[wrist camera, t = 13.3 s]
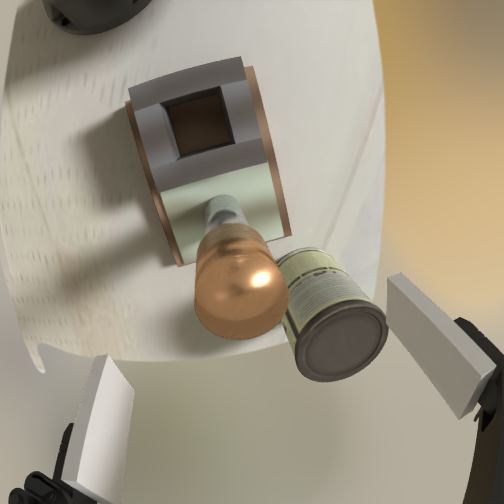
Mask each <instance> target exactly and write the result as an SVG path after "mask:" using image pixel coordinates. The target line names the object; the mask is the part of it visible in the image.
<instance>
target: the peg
mask: <svg viewBox="0 0 504 504" xmlns="http://www.w3.org/2000/svg"><path fill="white" fill-rule="evenodd" d="M288 304H289V290H288V286H287V284H286V282H285V279H284V278H283V276H282V274H281V272H280V270H279V268H278V266H277V264H276V262H275V260H274V258H273V256H272V254H271V252H270V250H269V248H268V246H267V244H266V242H265V240H264V239H263V237H262V236H261V235H260V234H259V233H258V232H257V231H256V230H255V229H253V228H252V227H250V226H249V224H248V222H247V220H246V217H245V215H244V213H243V210H242V208H241V206H240V204H239V202H238V201H237V200H236V199H235V198H234V197H232V196H230V195H225V194H222V195H217V196H215V197H213V198H212V199H211V200H210V201H209V202H208V203H207V205H206V208H205V236H204V238H203V239H202V240H201V242H200V244H199V246H198V250H197V256H196V276H195V311H196V314H197V316H198V318H199V320H200V322H201V323H202V324H203V325H204V327H205V328H207V329H208V330H209V331H210V332H212V333H214V334H215V335H218V336H220V337H223V338H226V339H232V340H245V339H251V338H255V337H258V336H260V335H262V334H265V333H266V332H268V331H270V330H271V329H272V328H274V327H275V326H276V325H277V324H278V323H279V322H280V321H281V319H282V318H283V316H284V315H285V313H286V311H287V308H288Z"/></svg>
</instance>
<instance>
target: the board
mask: <svg viewBox="0 0 504 504" xmlns="http://www.w3.org/2000/svg"><path fill="white" fill-rule="evenodd" d="M128 90H129V94H130V98H131V100H129V101H127V102H125V105H126V108H127V112H128V116H129V120H130V123H131V127H132V131H133V134H134V138H135V141H136V145H137V148H138V152H139V155H140V158H141V162H142V165H143V168H144V171H145V175H146V178H147V181H148V184H149V187H150V190H151V193H152V196H153V199H154V202H155V205H156V208H157V211H158V214H159V217H160V220H161V223H162V226H163V228H164V231H165V234H166V237H167V240H168V242H169V245H170V248H171V251H172V253H173V256H174V259H175V261H176V264H177V266H178V267H181V266H185V265H188V264H192V263H195V262H196V256H197V250H198V246H199V244H200V242H201V240H202V239H203V238H204V236H205V208H206V205H207V203H208V202H209V201H210V200H211V199H212V198H213V197H215V196H217V195H222V194H225V195H230V196H232V197H234V198H235V199H236V200H237V201H238V202H239V204H240V206H241V208H242V210H243V213H244V215H245V217H246V220H247V222H248V224H249V226H250V227H252V228H253V229H255V230H256V231H257V232H258V233H259V234H260V235H261V236H262V237H263V239H264V240H265V242H270V241H273V240H277V239H281V238H284V237H288V236H291V235H292V233H291V228H290V223H289V218H288V213H287V208H286V204H285V199H284V194H283V189H282V185H281V180H280V176H279V171H278V166H277V162H276V158H275V153H274V149H273V145H272V140H271V136H270V132H269V128H268V123H267V119H266V115H265V111H264V107H263V103H262V99H261V95H260V91H259V87H258V83H257V79H256V76H255V72H254V68H253V66H250V67H244V66H243V63H242V59H241V56H240V57H235V58H230V59H225V60H221V61H216V62H212V63H208V64H204V65H200V66H196V67H192V68H189V69H185V70H182V71H178V72H175V73H172V74H168V75H165V76H162V77H159V78H156V79H153V80H150V81H147V82H144V83H142V84H139V85H136V86H133V87H131V88H128Z"/></svg>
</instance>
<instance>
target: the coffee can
mask: <svg viewBox="0 0 504 504" xmlns="http://www.w3.org/2000/svg"><path fill="white" fill-rule="evenodd" d="M277 266H278V268H279V270H280V272H281V274H282V276H283V278H284V279H285V282H286V284H287V286H288V290H289V304H288V308H287V311H286V313H285V315H284V316H283V318H282V319H281V322H282V325H283V327H284V330H285V333H286V335H287V338H288V340H289V343H290V345H291V348H292V350H293V353H294V356H295V361H296V364H297V367H298V370H299V371H300V372H301V374H302V375H304V376H305V377H307V378H308V379H310V380H313V381H317V382H333V381H338V380H342V379H345V378H348V377H350V376H352V375H354V374H356V373H358V372H359V371H361V370H362V369H364V368H365V367H366V366H368V365H369V364H370V363H371V362H372V361H373V360H374V359H375V358H376V357H377V355H378V354H379V353H380V351H381V350H382V348H383V346H384V344H385V342H386V340H387V336H388V330H389V326H388V325H387V324H386V316H385V314H384V313H383V311H382V310H381V309H380V308H378V307H377V306H376V305H375V304H374V303H373V302H372V301H371V300H370V298H369V297H368V296H367V295H366V294H365V293H364V292H363V291H362V290H361V288H360V287H359V286H358V285H357V284H356V283H355V282H354V281H353V280H352V278H351V277H350V276H349V275H348V274H347V273H346V272H345V271H344V270H343V269H342V268H341V266H340V265H339V264H338V263H337V262H336V261H335V259H334V258H333V257H332V256H331V255H330V254H329V253H327V252H326V251H323V250H321V249H317V248H303V249H298V250H296V251H293V252H291V253H289V254H288V255H286V256H285V257H284V258H283V259H281V260H280V261H279V262H278V264H277Z"/></svg>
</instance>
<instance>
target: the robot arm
mask: <svg viewBox="0 0 504 504" xmlns="http://www.w3.org/2000/svg"><path fill="white" fill-rule="evenodd" d="M42 1H43V4H44V7H45V9H46V12H47V15H48V17H49V18H50V20H51V21H52V22H53V23H54V24H55V25H56V26H58V27H60V28H61V29H63V30H65V31H67V32H69V33H72V34H78V35H89V34H96V33H100V32H104V31H107V30H109V29H112V28H114V27H117V26H119V25H121V24H122V23H124V22H126V21H128V20H129V19H131V18H132V17H134V16H135V15H136V14H138V13H139V12H140V11H141V10H143V9H144V8H145V7H146V6H147V5H148V4H149V3H150V2H151V0H42ZM386 324H387V325H388V326H389V328H390V329H391V330H392V331H393V333H394V334H395V335H396V336H397V338H398V339H399V340H400V341H401V342H402V344H403V345H404V347H405V348H406V349H407V350H408V352H409V353H410V354H411V355H412V357H413V358H414V359H415V361H416V362H417V363H418V365H419V366H420V367H421V368H422V370H423V371H424V373H425V374H426V375H427V377H428V378H429V379H430V381H431V382H432V383H433V385H434V386H435V387H436V389H437V390H438V391H439V393H440V394H441V396H442V397H443V398H444V400H445V401H446V402H447V404H448V405H449V407H450V408H451V410H452V411H453V412H454V414H455V415H456V416H457V418H458V419H461V418H462V417H464V416H465V415H467V414H468V413H470V412H471V411H473V409H474V407H475V406H476V404H477V402H478V403H479V404H480V405H481V408H480V410H479V411H478V413H477V414H476V416H475V418H474V421H476V420H477V419H478V417H479V423H478V431H477V438H476V445H475V451H474V457H473V462H472V467H471V472H470V477H469V481H468V485H467V489H466V493H465V497H464V500H463V504H504V355H503V354H502V353H501V352H500V351H499V349H498V348H497V347H496V346H495V345H493V344H492V342H490V340H488V339H487V337H484V334H482V333H481V332H480V331H478V329H477V328H476V327H475V326H474V325H473V324H472V323H471V322H469V321H467V320H465V319H463V318H461V317H459V318H457V319H455V320H454V321H453V320H452V319H451V318H450V317H449V316H448V315H447V314H446V313H445V312H444V311H442V310H441V309H440V308H439V307H438V306H437V305H436V304H435V303H434V302H433V301H432V300H431V299H430V298H429V297H428V296H426V295H425V294H424V293H423V292H422V291H421V290H420V289H419V288H418V287H417V286H416V285H414V284H413V283H412V282H411V281H410V280H409V279H408V278H407V277H405V276H404V275H403V274H402V273H398V274H396V275H393V276H390V277H388V278H387V311H386ZM134 395H135V391H134V390H133V388H132V387H131V386H130V384H129V383H128V382H127V380H126V379H125V378H124V376H123V375H122V373H121V372H120V371H119V369H118V368H117V366H116V365H115V364H114V362H113V361H112V359H111V358H110V356H109V355H108V354H107V355H102V356H96V357H95V359H94V362H93V365H92V368H91V371H90V374H89V377H88V380H87V383H86V386H85V389H84V392H83V395H82V399H81V402H80V405H79V408H78V412H77V415H76V419H75V422H74V423H70V424H69V425H68V427H67V428H66V430H65V432H64V434H63V438H62V441H61V442H62V444H61V445H60V449H59V450H60V452H59V453H58V457H57V461H56V465H55V470H54V474H53V479H52V480H51V479H50V478H48V477H47V476H46V475H44V474H43V473H41V472H39V471H35V472H32V473H30V474H29V475H28V476H27V478H26V480H25V484H24V489H25V491H24V490H23V489H21V488H15V489H13V490H12V491H11V493H10V495H9V501H8V503H9V504H97V502H99V503H100V504H122V492H123V480H124V469H125V458H126V451H127V450H126V449H127V442H128V434H129V427H130V420H131V413H132V406H133V401H134Z"/></svg>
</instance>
